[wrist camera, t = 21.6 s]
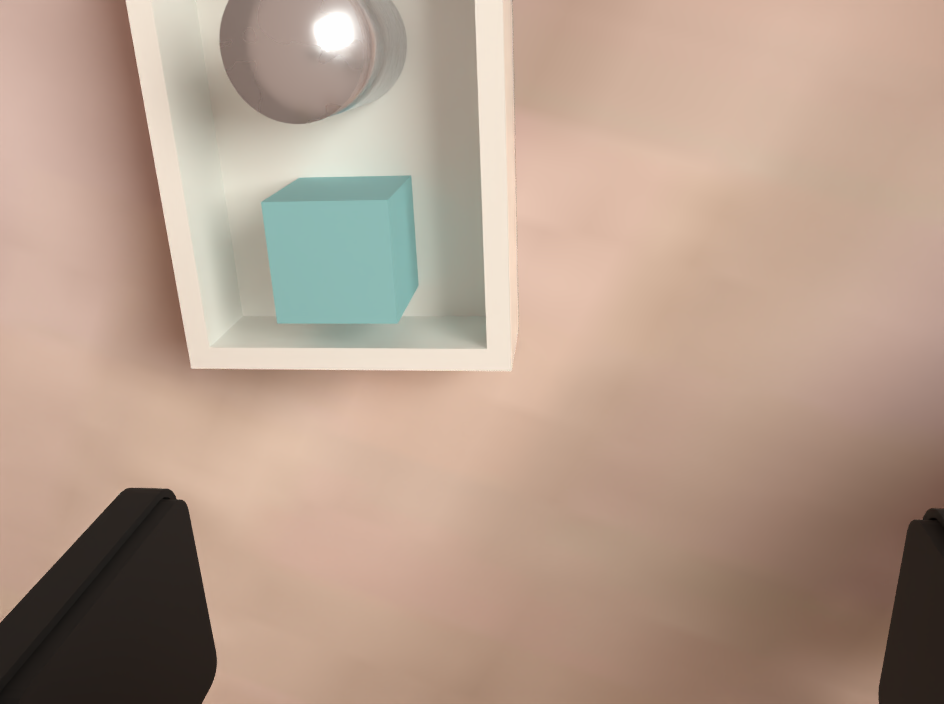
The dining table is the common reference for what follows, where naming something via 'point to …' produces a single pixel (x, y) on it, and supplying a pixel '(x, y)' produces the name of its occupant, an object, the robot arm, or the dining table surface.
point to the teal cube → (342, 249)
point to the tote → (340, 155)
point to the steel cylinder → (311, 54)
